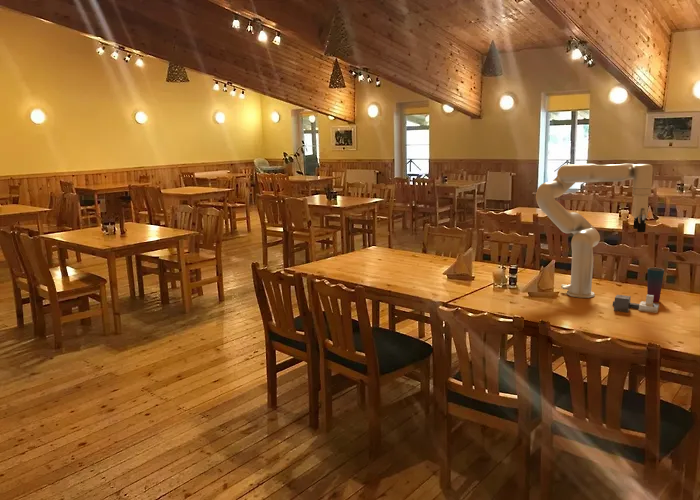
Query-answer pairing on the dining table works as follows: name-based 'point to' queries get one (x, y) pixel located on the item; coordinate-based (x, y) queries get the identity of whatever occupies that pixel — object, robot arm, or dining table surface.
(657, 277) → the cup
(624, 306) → the socket
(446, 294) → the dining table surface
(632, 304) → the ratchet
